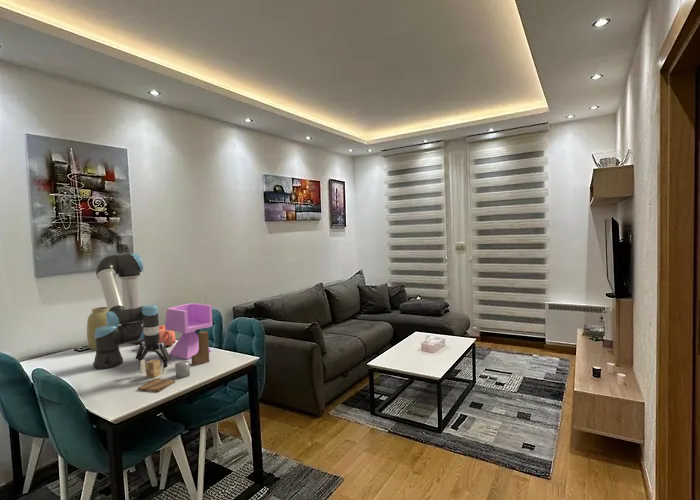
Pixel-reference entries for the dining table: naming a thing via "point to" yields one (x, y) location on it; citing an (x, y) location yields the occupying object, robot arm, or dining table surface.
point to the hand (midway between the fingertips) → (153, 372)
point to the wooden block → (202, 349)
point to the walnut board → (156, 385)
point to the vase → (95, 324)
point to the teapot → (166, 336)
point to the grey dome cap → (182, 369)
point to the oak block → (153, 368)
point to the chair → (188, 327)
